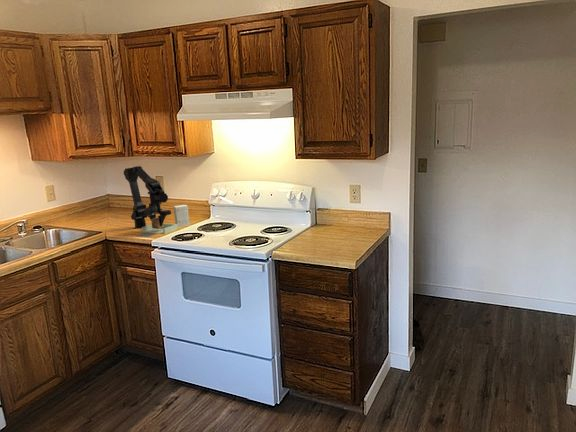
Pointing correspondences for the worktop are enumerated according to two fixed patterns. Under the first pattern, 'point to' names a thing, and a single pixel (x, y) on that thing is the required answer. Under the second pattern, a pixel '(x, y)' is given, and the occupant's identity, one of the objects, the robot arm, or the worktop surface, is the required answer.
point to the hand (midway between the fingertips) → (157, 225)
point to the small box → (181, 215)
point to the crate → (164, 229)
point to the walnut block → (156, 223)
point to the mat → (147, 234)
